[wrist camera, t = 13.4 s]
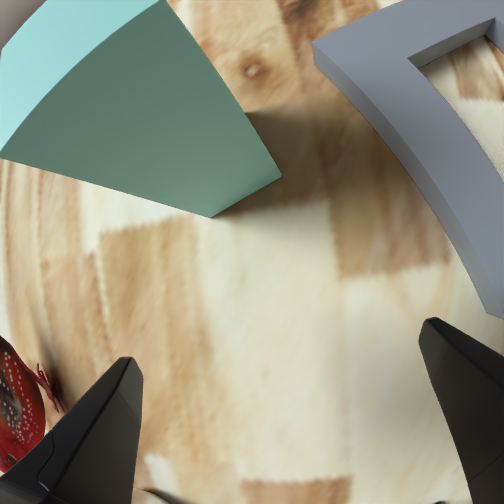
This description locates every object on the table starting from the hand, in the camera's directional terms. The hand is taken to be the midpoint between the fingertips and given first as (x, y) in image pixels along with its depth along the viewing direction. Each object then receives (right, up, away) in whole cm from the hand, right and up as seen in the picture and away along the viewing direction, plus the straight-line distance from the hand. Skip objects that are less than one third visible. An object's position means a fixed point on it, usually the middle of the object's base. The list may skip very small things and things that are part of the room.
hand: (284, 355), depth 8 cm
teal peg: (-2, +8, +10) cm, 13 cm away
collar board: (+16, +12, +5) cm, 21 cm away
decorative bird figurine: (-21, -8, +14) cm, 27 cm away
